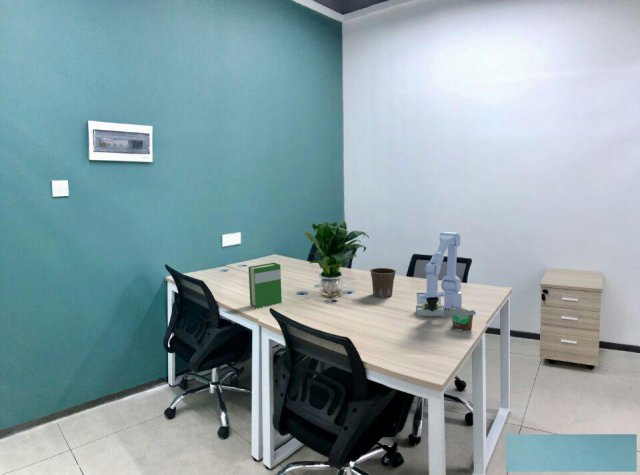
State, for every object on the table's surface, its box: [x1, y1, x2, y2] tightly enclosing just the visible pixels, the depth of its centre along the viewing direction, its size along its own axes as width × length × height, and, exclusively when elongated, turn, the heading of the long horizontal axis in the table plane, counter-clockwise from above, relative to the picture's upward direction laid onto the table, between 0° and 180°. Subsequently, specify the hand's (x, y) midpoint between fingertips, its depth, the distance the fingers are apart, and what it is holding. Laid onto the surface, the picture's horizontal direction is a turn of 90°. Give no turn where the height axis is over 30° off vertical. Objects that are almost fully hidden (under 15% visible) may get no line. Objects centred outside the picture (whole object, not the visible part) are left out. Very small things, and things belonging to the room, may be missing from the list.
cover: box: [416, 292, 442, 306], centre depth 230 cm, size 13×7×1 cm
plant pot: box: [369, 267, 397, 298], centre depth 262 cm, size 16×16×16 cm
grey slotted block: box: [415, 304, 445, 317], centre depth 226 cm, size 14×8×4 cm, turn 83°
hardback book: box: [248, 262, 282, 309], centre depth 248 cm, size 18×7×24 cm, turn 127°
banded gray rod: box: [423, 304, 440, 310], centre depth 222 cm, size 8×3×3 cm, turn 83°
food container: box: [449, 305, 475, 331], centre depth 203 cm, size 12×6×10 cm, turn 40°
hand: (431, 310), depth 218 cm, fingers closed
